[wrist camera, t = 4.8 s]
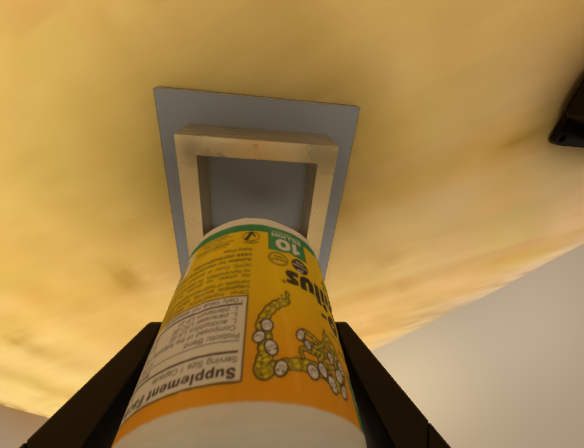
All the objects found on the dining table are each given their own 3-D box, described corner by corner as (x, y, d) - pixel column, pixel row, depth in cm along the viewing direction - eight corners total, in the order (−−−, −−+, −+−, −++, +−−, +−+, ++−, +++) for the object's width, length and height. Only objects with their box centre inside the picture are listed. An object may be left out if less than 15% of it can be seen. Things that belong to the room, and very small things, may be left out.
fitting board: (355, 105, 17) (360, 107, 16) (313, 318, 27) (314, 326, 26) (159, 86, 16) (153, 87, 15) (191, 318, 26) (188, 327, 25)
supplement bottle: (163, 243, 10) (-263, 946, 2) (290, 191, 10) (421, 956, 1) (231, 325, 13) (164, 775, 5) (334, 290, 12) (469, 748, 4)
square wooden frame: (327, 134, 17) (338, 146, 14) (310, 244, 21) (316, 269, 18) (188, 123, 16) (173, 133, 13) (200, 241, 20) (190, 266, 17)
